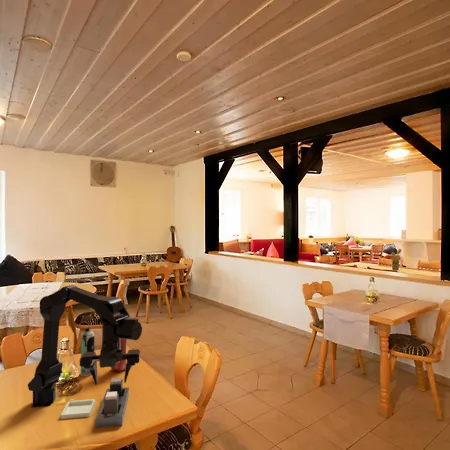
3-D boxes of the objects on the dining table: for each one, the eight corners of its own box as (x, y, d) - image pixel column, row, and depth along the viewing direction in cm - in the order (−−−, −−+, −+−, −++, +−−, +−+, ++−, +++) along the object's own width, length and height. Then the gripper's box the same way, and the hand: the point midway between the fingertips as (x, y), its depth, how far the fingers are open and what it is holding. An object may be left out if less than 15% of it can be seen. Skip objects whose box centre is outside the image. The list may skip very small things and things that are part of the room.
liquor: (107, 370, 153) (107, 307, 153) (120, 365, 159) (120, 304, 159) (117, 374, 148) (117, 310, 149) (130, 368, 154) (131, 306, 155)
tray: (60, 420, 113) (60, 415, 113) (68, 406, 122) (68, 401, 122) (89, 417, 115) (89, 412, 115) (95, 403, 124) (95, 399, 124)
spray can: (93, 375, 148) (93, 329, 148) (80, 377, 146) (80, 330, 146) (94, 370, 153) (95, 325, 153) (81, 371, 151) (81, 326, 151)
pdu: (95, 429, 108) (95, 402, 108) (106, 398, 128) (106, 375, 128) (122, 427, 109) (122, 400, 109) (128, 396, 129) (128, 374, 129)
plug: (103, 422, 111) (104, 397, 111) (106, 415, 115) (106, 391, 115) (116, 421, 112) (116, 396, 112) (118, 414, 116) (118, 390, 116)
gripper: (75, 346, 105) (74, 397, 105) (137, 343, 108) (137, 392, 108) (83, 334, 116) (83, 381, 116) (140, 332, 119) (140, 377, 119)
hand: (110, 383), depth 114 cm, fingers open, 9 cm apart
